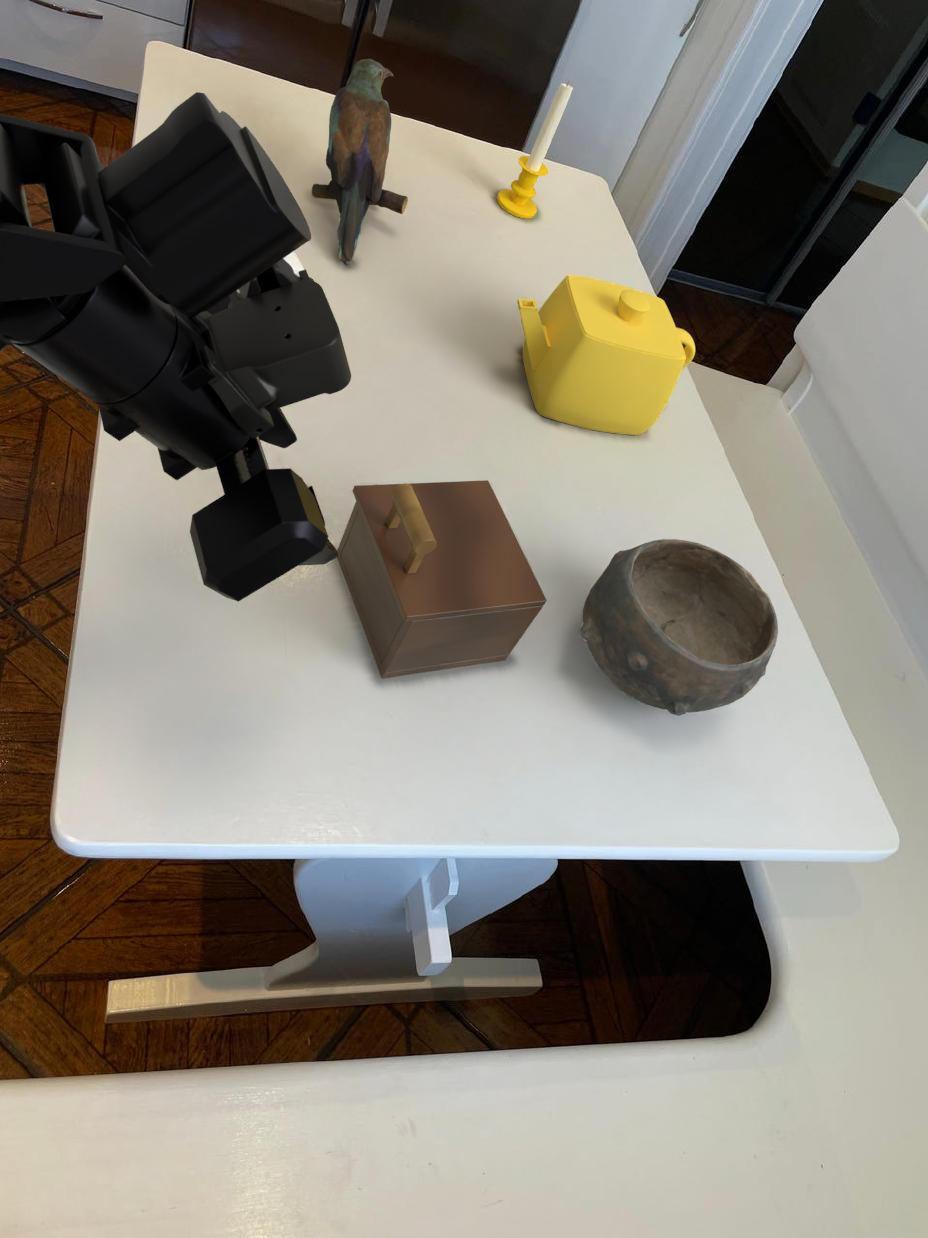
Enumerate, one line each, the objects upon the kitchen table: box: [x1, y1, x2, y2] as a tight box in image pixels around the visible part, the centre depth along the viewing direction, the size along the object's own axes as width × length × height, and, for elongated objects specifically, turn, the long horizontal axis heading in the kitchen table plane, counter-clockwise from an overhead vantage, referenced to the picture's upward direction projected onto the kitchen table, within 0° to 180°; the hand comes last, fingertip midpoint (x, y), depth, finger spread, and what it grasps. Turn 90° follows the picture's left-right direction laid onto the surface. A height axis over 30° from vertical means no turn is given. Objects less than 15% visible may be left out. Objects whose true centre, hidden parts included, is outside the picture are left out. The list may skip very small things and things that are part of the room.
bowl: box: [579, 538, 779, 717], centre depth 73 cm, size 14×15×10 cm
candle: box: [496, 80, 574, 219], centre depth 110 cm, size 5×5×16 cm
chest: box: [336, 501, 544, 680], centre depth 70 cm, size 11×12×7 cm
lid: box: [351, 479, 548, 622], centre depth 65 cm, size 11×12×4 cm
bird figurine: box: [311, 58, 409, 265], centre depth 97 cm, size 13×10×20 cm
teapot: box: [517, 274, 696, 436], centre depth 92 cm, size 20×12×12 cm, turn 98°
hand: (310, 498), depth 56 cm, fingers open, 9 cm apart
